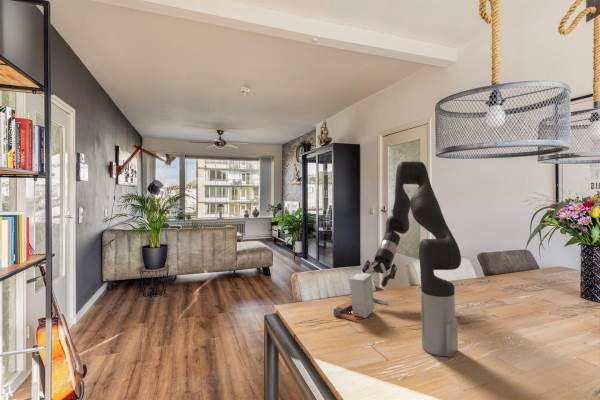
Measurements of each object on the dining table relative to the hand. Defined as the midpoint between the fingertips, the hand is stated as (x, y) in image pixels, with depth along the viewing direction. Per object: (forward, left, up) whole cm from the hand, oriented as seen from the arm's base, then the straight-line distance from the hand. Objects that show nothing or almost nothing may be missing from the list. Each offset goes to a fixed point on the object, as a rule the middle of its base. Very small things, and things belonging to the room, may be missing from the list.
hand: (373, 284), depth 131 cm
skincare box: (-1, +10, -9) cm, 13 cm away
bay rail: (+2, +6, -9) cm, 11 cm away
